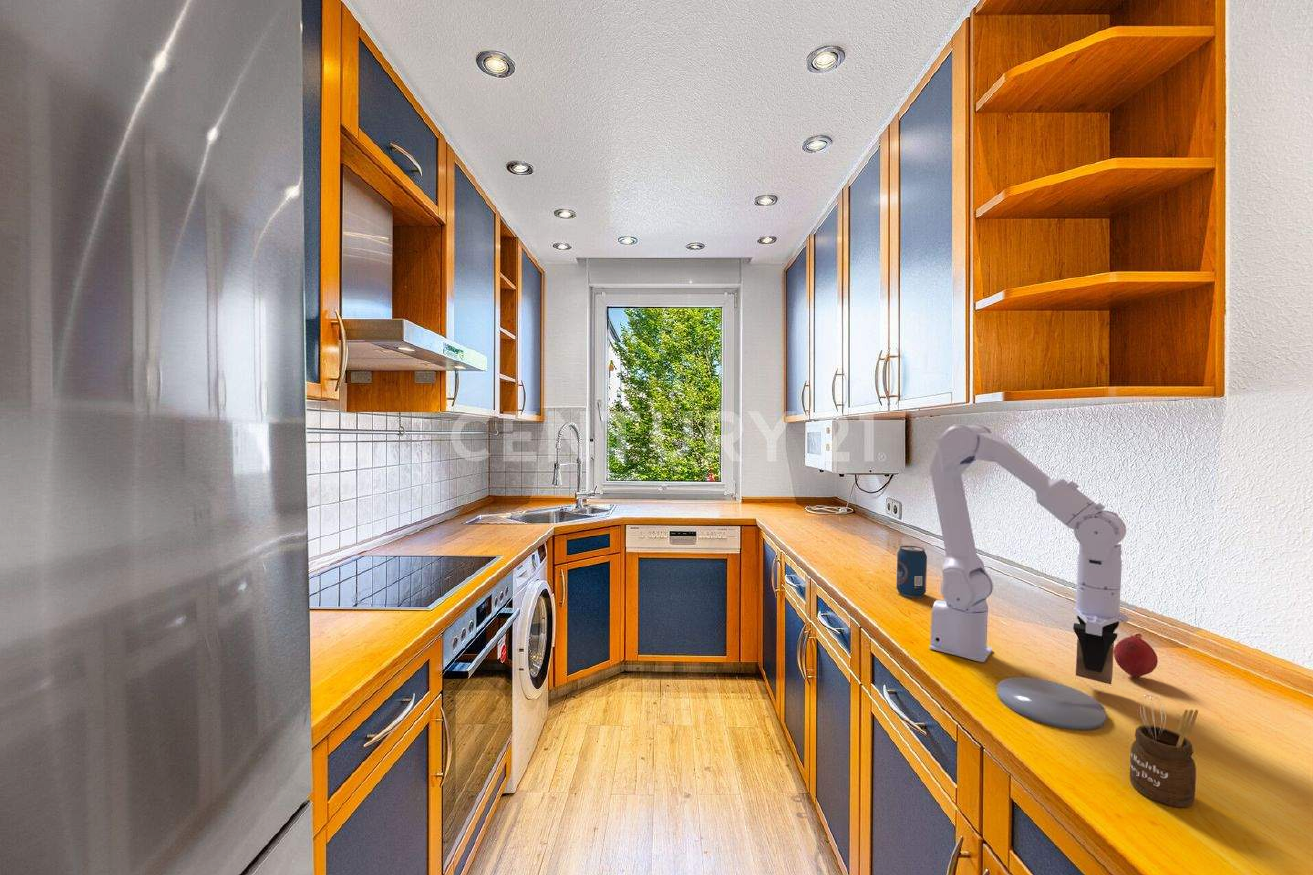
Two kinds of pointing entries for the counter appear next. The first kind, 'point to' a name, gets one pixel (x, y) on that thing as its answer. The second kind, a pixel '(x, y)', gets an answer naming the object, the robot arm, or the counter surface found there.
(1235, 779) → the counter surface
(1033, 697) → the plate
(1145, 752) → the utensil holder
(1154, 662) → the onion
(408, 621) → the counter surface
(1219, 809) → the counter surface
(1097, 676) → the walnut stool block
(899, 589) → the soda can
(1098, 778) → the counter surface
